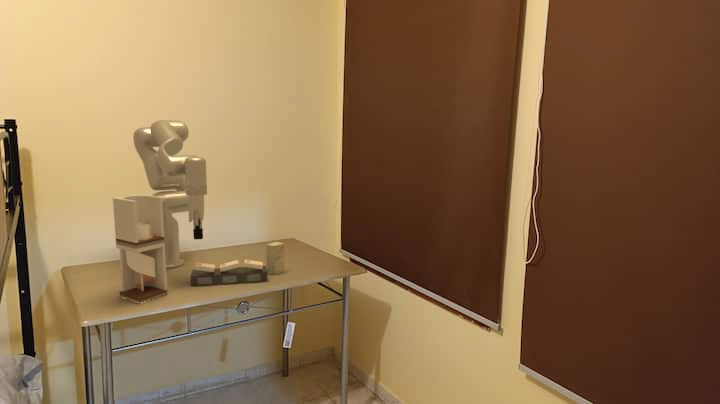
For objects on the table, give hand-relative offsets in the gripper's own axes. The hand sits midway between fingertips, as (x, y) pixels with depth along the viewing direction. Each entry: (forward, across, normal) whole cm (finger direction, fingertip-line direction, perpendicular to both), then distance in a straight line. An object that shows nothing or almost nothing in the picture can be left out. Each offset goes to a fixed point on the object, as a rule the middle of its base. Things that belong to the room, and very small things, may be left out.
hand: (198, 238), depth 179 cm
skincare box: (+18, -7, +29) cm, 35 cm away
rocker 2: (+11, 0, +20) cm, 23 cm away
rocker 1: (+11, 0, +2) cm, 11 cm away
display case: (+17, +11, -18) cm, 27 cm away
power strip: (+17, 0, +11) cm, 20 cm away
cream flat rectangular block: (+11, 0, +11) cm, 16 cm away
